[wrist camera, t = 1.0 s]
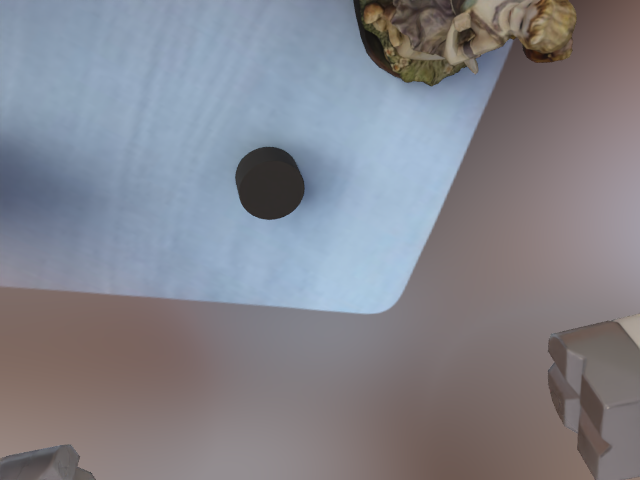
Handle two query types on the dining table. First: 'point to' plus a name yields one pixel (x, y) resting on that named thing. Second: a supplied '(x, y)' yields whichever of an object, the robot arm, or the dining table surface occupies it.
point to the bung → (269, 183)
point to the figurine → (459, 33)
